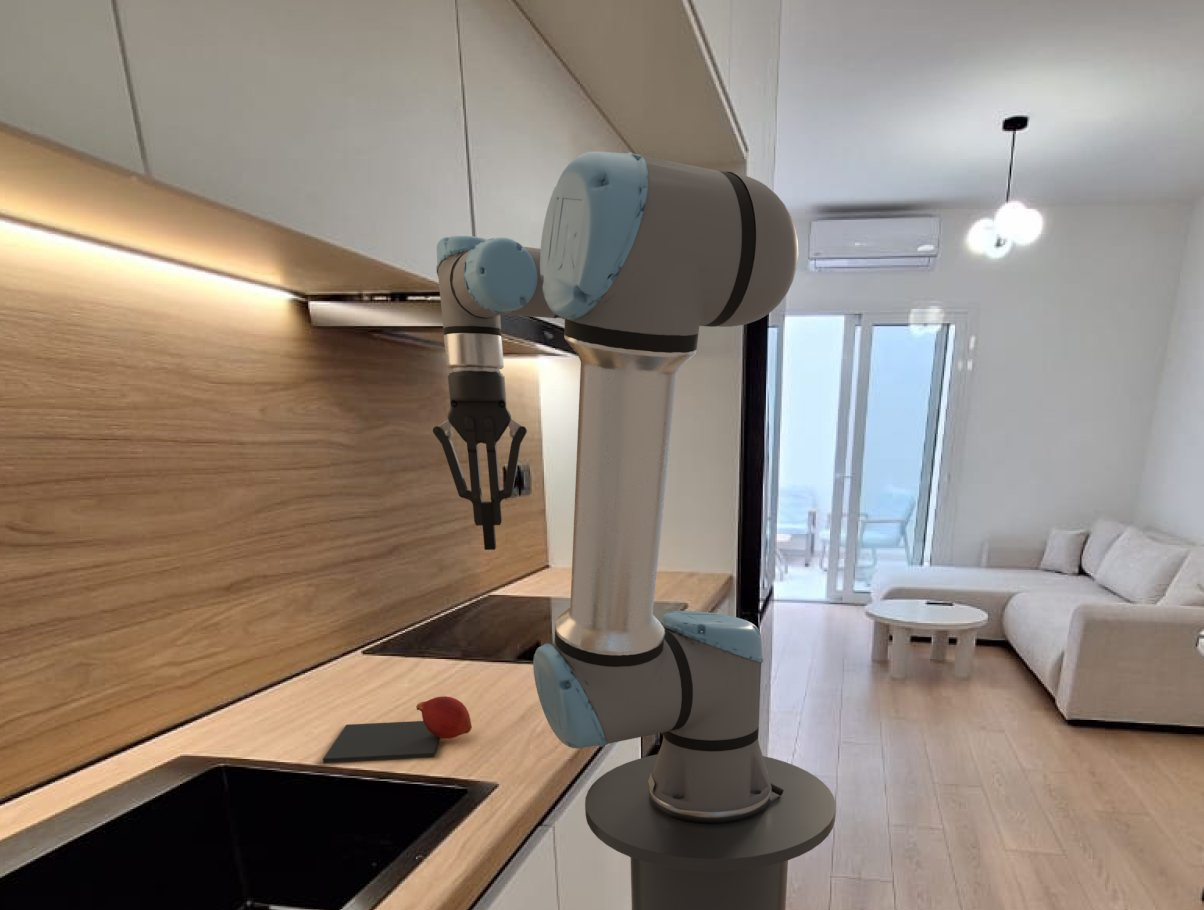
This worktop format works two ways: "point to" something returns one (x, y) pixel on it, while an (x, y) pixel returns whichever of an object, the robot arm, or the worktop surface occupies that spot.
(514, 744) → the worktop surface
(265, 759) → the worktop surface
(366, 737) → the mat
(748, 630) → the robot arm
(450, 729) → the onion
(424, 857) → the worktop surface
